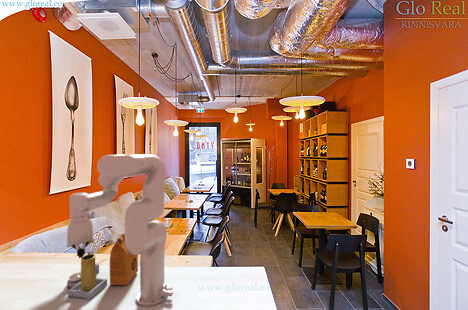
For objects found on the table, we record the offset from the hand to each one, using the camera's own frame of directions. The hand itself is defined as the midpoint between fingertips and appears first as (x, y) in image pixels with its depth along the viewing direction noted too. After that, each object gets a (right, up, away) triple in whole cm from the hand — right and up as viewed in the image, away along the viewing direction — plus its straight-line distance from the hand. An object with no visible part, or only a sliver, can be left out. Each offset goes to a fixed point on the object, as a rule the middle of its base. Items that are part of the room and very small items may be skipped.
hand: (81, 256), depth 106 cm
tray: (+10, -10, -10) cm, 17 cm away
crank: (+2, -8, -2) cm, 8 cm away
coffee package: (+21, -10, -1) cm, 24 cm away
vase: (+10, -10, -10) cm, 17 cm away
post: (+5, -10, +4) cm, 12 cm away
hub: (+1, -10, -5) cm, 11 cm away
